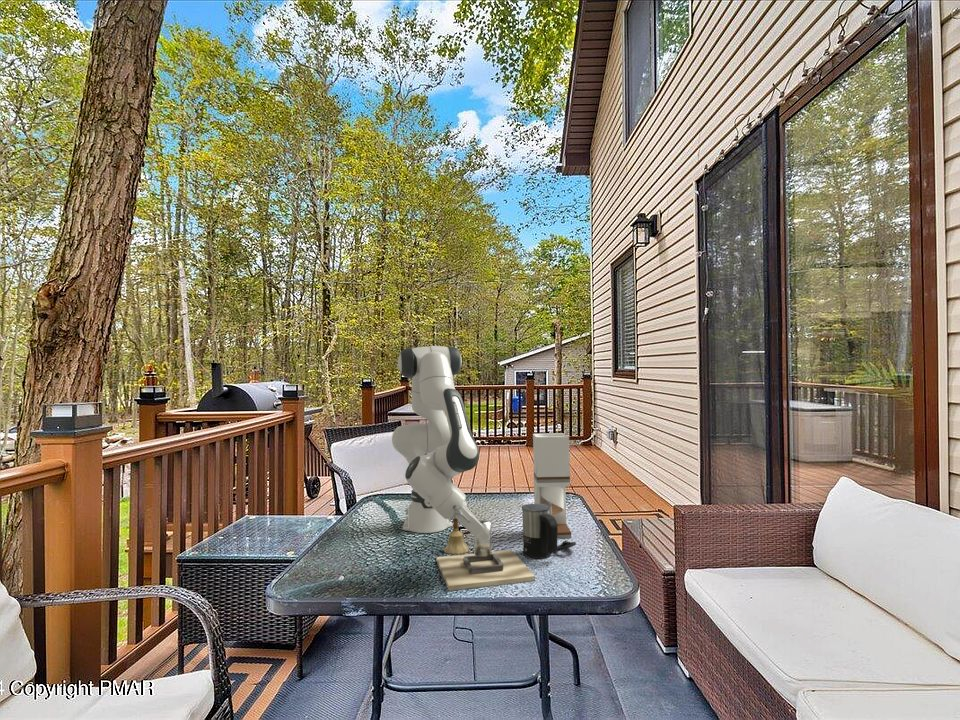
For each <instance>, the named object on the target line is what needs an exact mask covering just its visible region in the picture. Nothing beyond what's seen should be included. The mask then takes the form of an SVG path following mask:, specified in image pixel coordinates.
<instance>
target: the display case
mask: <svg viewBox="0 0 960 720" xmlns="http://www.w3.org/2000/svg"><path fill="white" fill-rule="evenodd" d="M532 449H533V450H532V451H533V452H532V453H533V493H534V495H533V497H534V503H533V504H545V505H549V506H550V509H549V512H550V515H552V516H553V517H554V518H555V520H556V522H557V526H558V534H557V538H560V539H572V531H571V530H570V528H569V526H568V524H567V497H566V495H567V493H566V487H571V465H570V460H571V459H570V436H569V435H566V436H565V433H563V432H562V433H561V432H560V433H558V432H556V433H551V432H550V433H532Z"/></svg>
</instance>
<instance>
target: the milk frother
mask: <svg viewBox="0 0 960 720" xmlns="http://www.w3.org/2000/svg"><path fill="white" fill-rule="evenodd" d="M520 508H521V509H522V511H521V512H522V535H523V536H522V537H523V538H522V541H523V543H522V545H523V546H522V547H523V548H522V555H523V556H525V557H526V558H530V559H545V558H549V557H551V556H552V554H555V553H557V552H560V551H562V550H565V551H567V550H568V549H570V548H572V547H574V546H576V545H577V542H576V541H573V542H572V541H568V540H564V541H562V542H561V543H560V544H558V539H557V534H558V526H557V522H556V520H555V518H554V517H553V516H552V515H550V512H549V509H550V506H549V505H545V504H534V503H527V504H524V505H521V507H520Z"/></svg>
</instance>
